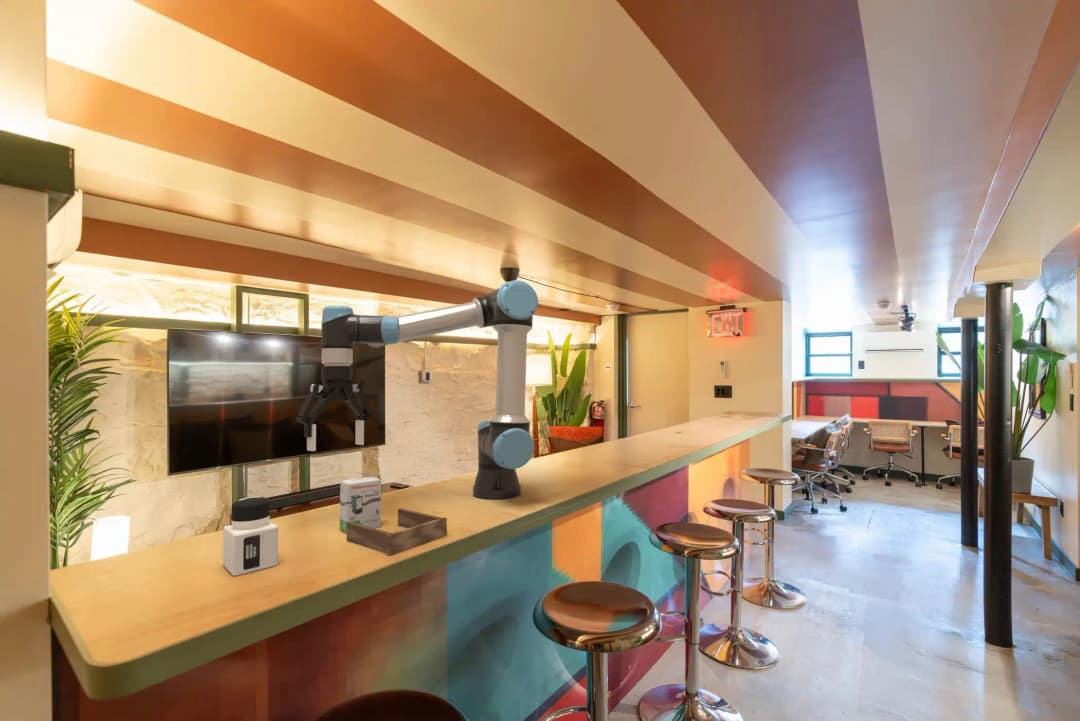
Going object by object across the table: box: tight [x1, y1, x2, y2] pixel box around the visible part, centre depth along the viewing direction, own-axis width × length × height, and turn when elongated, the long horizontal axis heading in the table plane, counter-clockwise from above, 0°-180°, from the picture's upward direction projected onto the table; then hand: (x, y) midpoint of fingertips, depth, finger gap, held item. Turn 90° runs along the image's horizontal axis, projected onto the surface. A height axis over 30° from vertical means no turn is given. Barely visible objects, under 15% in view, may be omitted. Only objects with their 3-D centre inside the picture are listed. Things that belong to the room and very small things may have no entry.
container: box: [222, 496, 279, 577], centre depth 97 cm, size 8×8×13 cm
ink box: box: [339, 476, 382, 534], centre depth 121 cm, size 9×5×12 cm, turn 131°
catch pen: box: [346, 508, 448, 557], centre depth 112 cm, size 16×16×4 cm
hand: (336, 447), depth 127 cm, fingers open, 13 cm apart
